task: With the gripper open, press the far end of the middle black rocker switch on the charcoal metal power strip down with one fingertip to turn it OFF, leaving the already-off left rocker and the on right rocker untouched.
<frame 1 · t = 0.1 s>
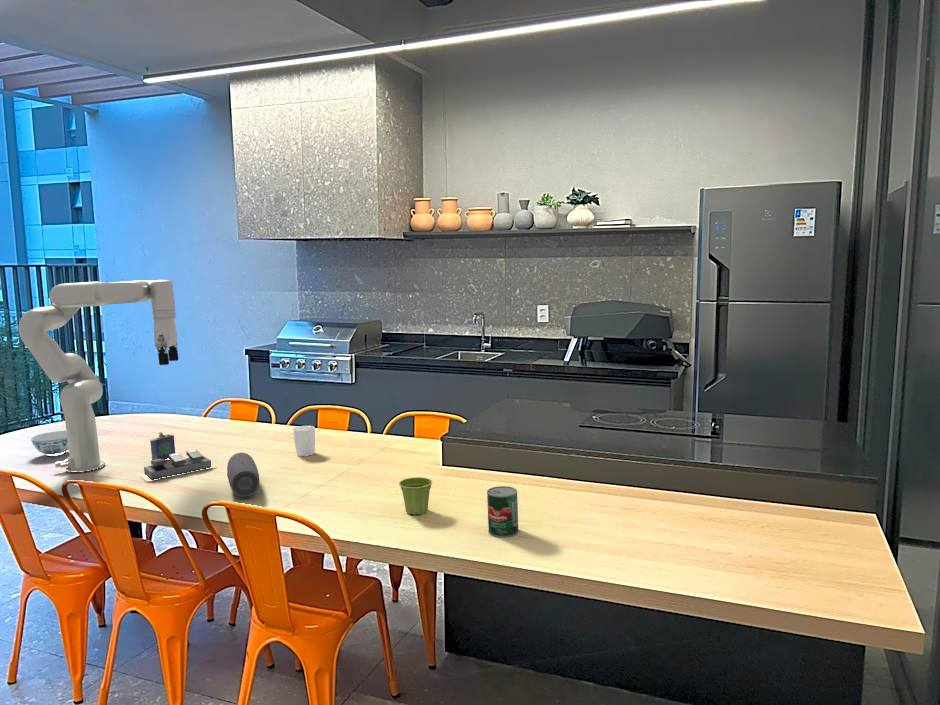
hand: (169, 362, 256), 37 cm above the table, tool pointing down, fingers open, 9 cm apart
power strip: (178, 471, 250), on the table
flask: (164, 461, 265), on the table
rocker right: (194, 455, 253), point 5 cm above the table, hinge at 9.0°
bluetooth speaker: (244, 490, 228), on the table
rocker left: (159, 462, 245), point 5 cm above the table, hinge at -9.0°
chinaware: (55, 455, 279), on the table
rocker middle: (177, 458, 249), point 5 cm above the table, hinge at 9.0°
canned tomato: (503, 532, 186), on the table
white cup: (305, 454, 267), on the table
plant pot: (417, 512, 203), on the table
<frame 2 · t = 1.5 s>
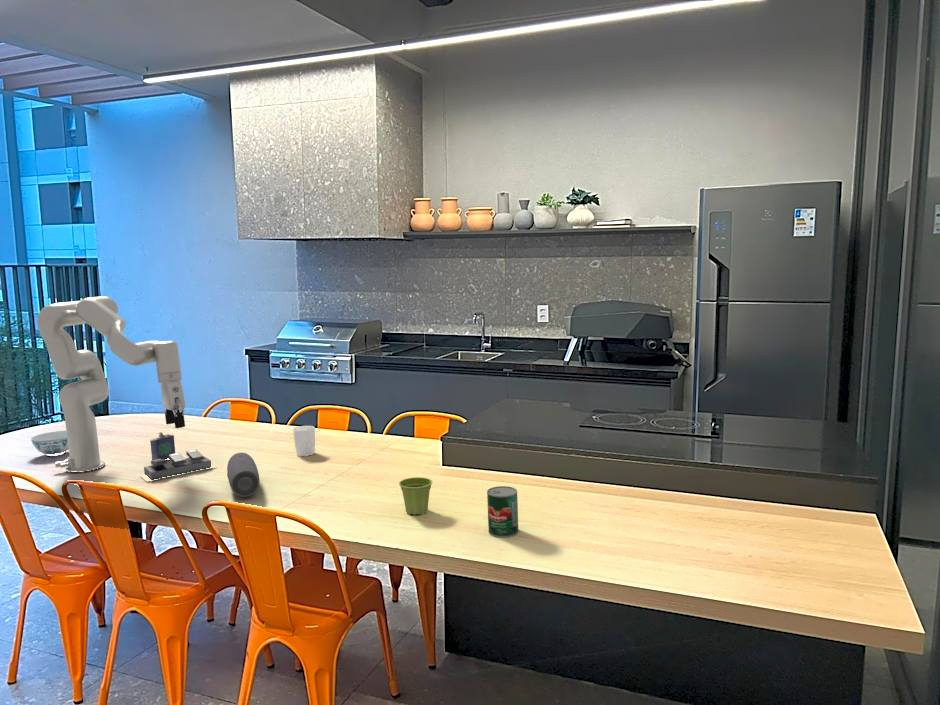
hand: (175, 425, 248), 17 cm above the table, tool pointing down, fingers open, 9 cm apart
nothing on the table moved.
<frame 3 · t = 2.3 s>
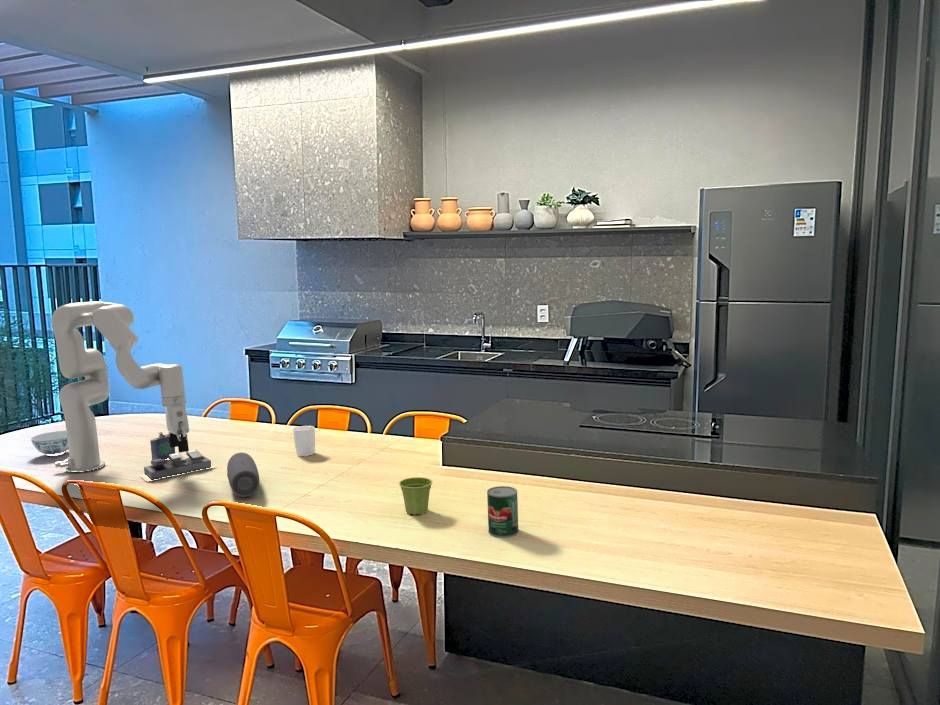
hand: (179, 449, 247), 9 cm above the table, tool pointing down, fingers open, 9 cm apart
nothing on the table moved.
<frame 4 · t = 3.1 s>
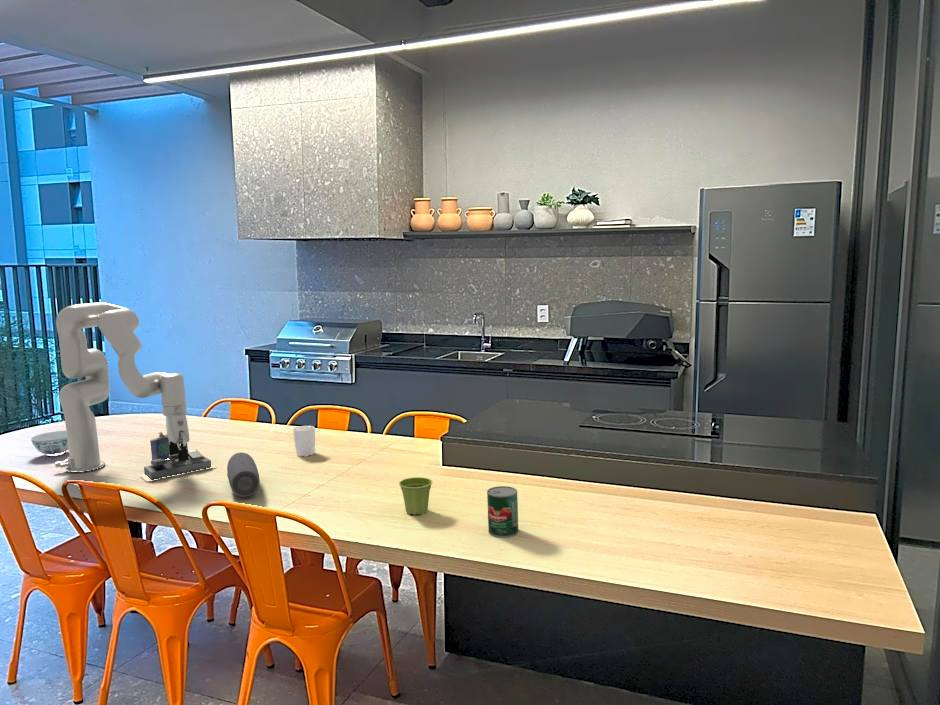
hand: (179, 457, 247), 5 cm above the table, tool pointing down, fingers open, 9 cm apart
rocker middle: (177, 458, 249), point 5 cm above the table, hinge at 8.6°, touching gripper
everything else where it was.
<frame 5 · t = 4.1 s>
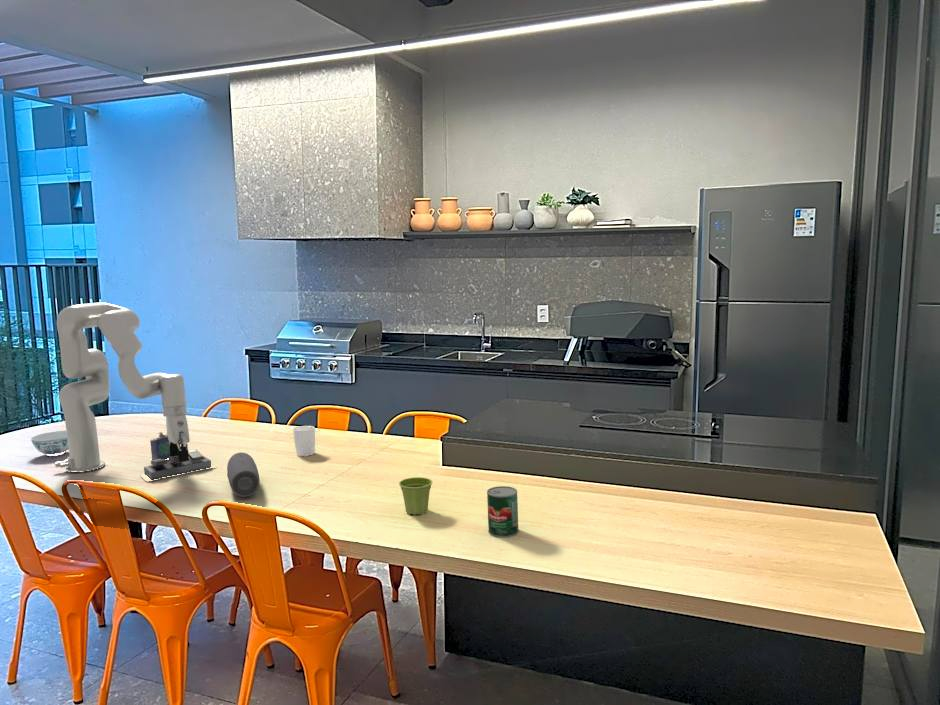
hand: (179, 458, 247), 5 cm above the table, tool pointing down, fingers open, 9 cm apart
rocker middle: (177, 458, 249), point 5 cm above the table, hinge at -7.5°
everything else where it was.
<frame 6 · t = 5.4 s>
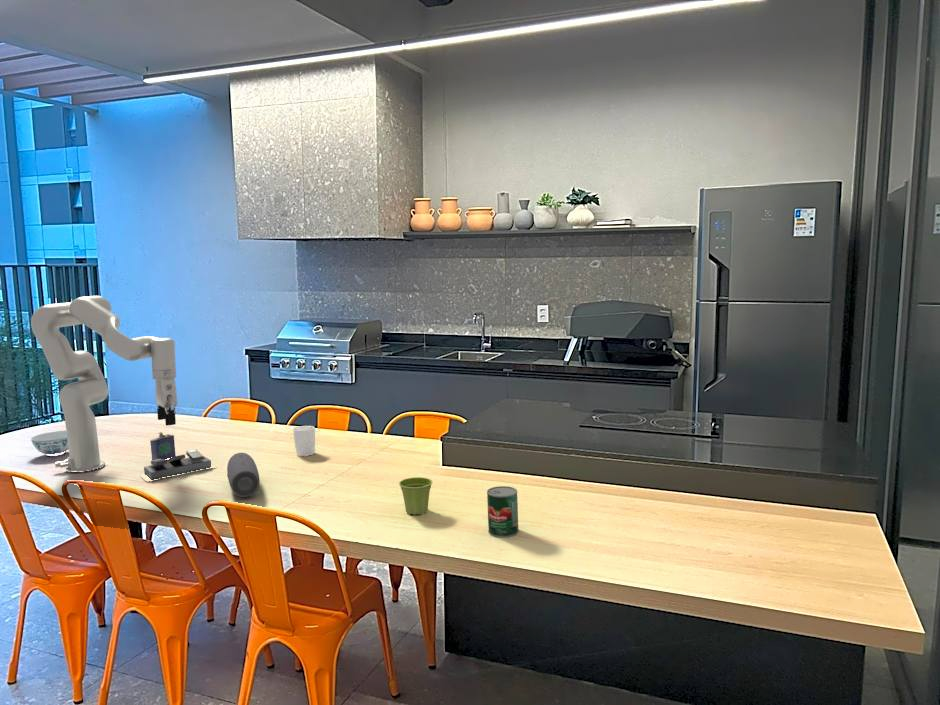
hand: (166, 422, 249), 17 cm above the table, tool pointing down, fingers open, 9 cm apart
rocker middle: (177, 458, 249), point 5 cm above the table, hinge at -19.6°, touching power strip
everything else where it was.
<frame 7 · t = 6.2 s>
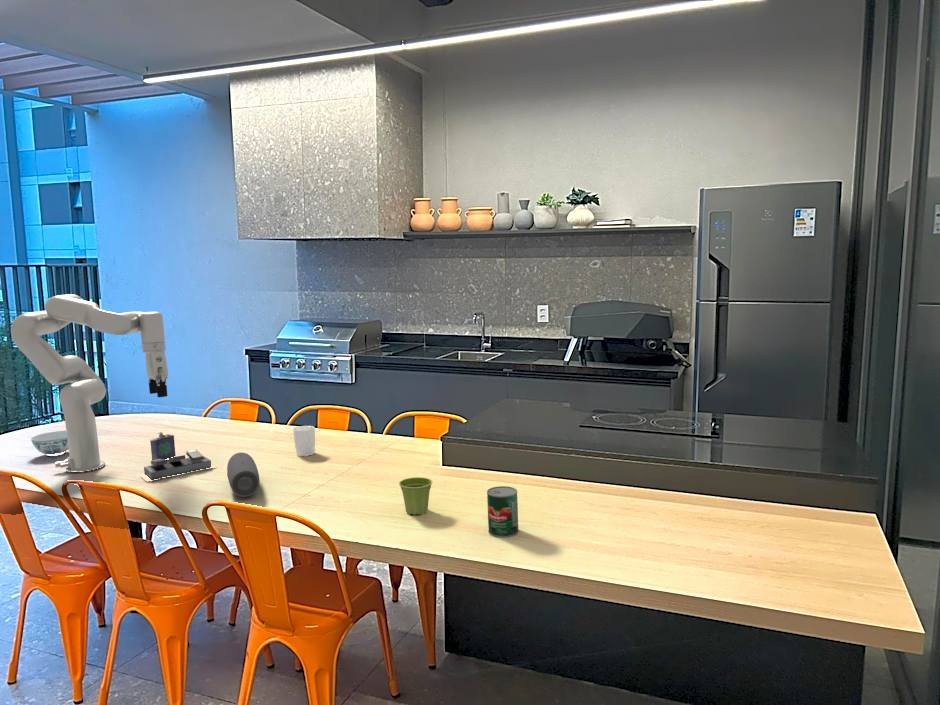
hand: (158, 395, 253), 26 cm above the table, tool pointing down, fingers open, 9 cm apart
rocker middle: (177, 458, 249), point 5 cm above the table, hinge at -15.9°
everything else where it was.
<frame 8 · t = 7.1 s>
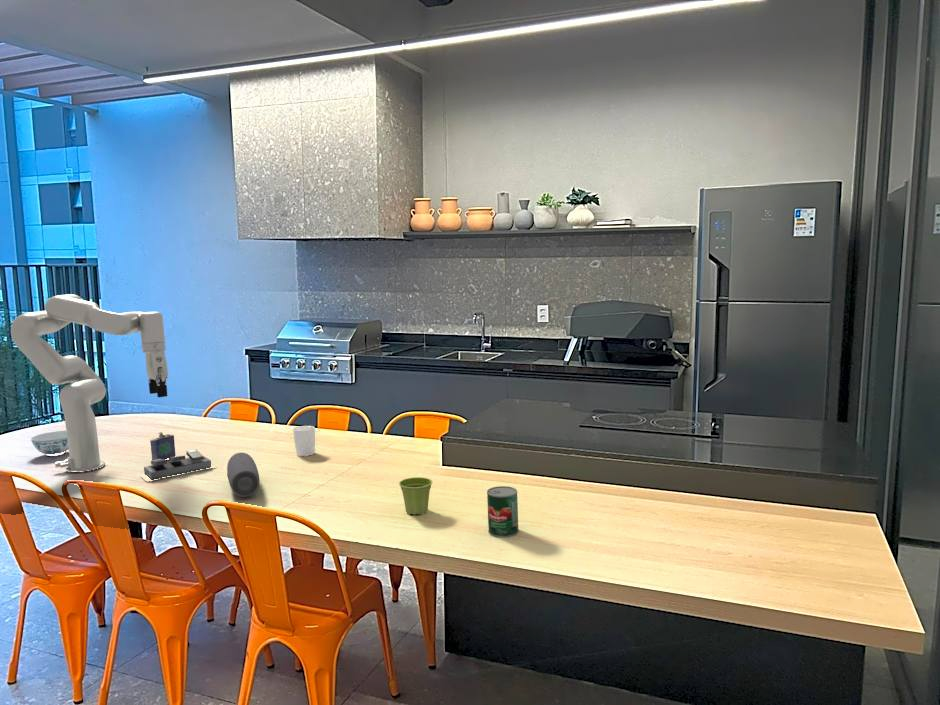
hand: (158, 394, 253), 26 cm above the table, tool pointing down, fingers open, 9 cm apart
rocker middle: (177, 458, 249), point 5 cm above the table, hinge at -13.0°
everything else where it was.
at the end: rocker middle at -12° (first picture: +9°); rocker left at -9° (first picture: -9°); rocker right at +9° (first picture: +9°) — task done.
